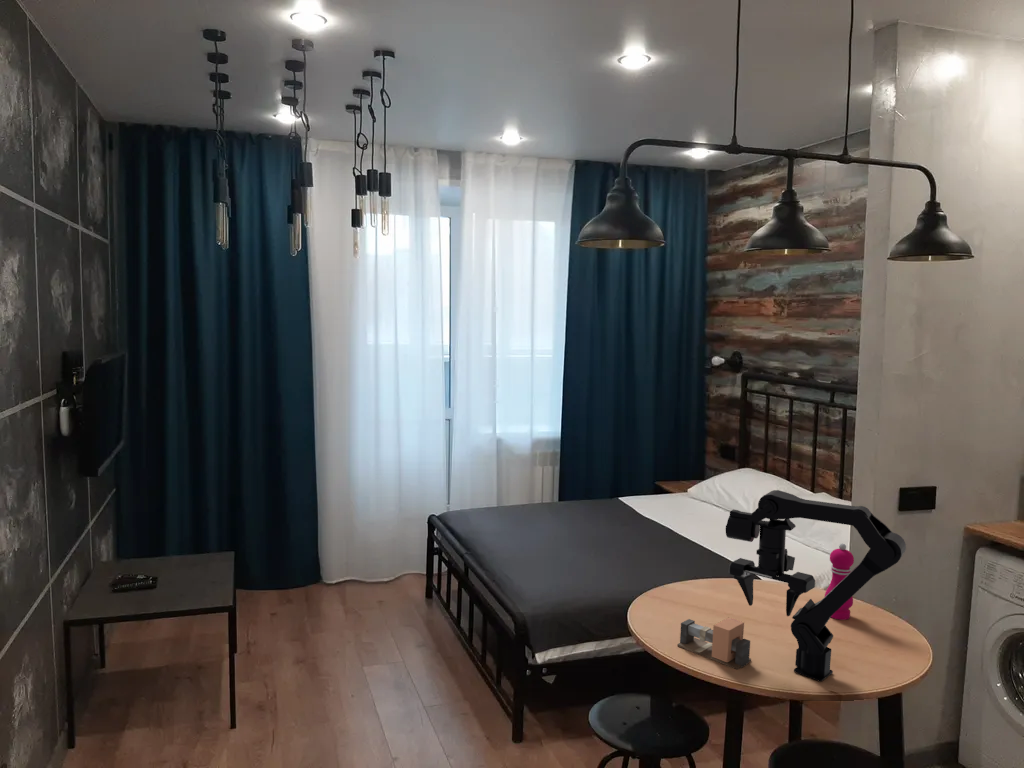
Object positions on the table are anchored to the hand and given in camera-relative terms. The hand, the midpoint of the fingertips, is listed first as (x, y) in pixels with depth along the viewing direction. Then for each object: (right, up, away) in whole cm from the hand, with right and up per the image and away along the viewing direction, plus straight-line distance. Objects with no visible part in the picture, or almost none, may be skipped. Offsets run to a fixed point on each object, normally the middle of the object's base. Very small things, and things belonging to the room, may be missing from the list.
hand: (769, 610), depth 181 cm
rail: (-12, -11, +4) cm, 17 cm away
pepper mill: (+28, -10, +29) cm, 42 cm away
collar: (-10, -12, +1) cm, 15 cm away
